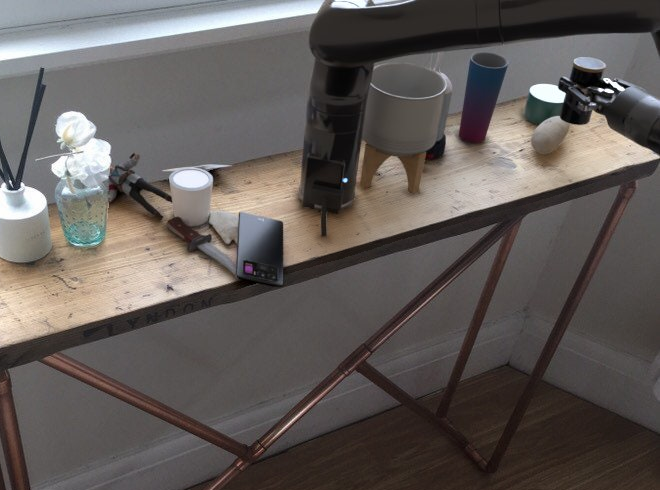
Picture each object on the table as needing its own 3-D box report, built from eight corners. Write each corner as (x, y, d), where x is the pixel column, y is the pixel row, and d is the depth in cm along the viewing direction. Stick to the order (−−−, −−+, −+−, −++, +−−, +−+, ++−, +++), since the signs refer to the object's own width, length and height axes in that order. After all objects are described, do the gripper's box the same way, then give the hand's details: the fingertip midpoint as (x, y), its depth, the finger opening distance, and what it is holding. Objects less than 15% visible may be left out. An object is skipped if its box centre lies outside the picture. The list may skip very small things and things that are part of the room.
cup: (446, 134, 168) (462, 57, 157) (469, 124, 171) (486, 48, 161) (474, 149, 164) (492, 71, 154) (497, 138, 168) (516, 62, 158)
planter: (386, 204, 149) (403, 105, 136) (339, 169, 156) (350, 72, 144) (442, 183, 155) (463, 87, 142) (394, 150, 162) (409, 56, 150)
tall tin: (591, 126, 155) (608, 70, 149) (560, 123, 155) (575, 67, 149) (587, 113, 159) (603, 58, 153) (557, 110, 159) (571, 55, 153)
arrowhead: (232, 239, 135) (193, 215, 141) (233, 250, 136) (194, 225, 142) (267, 225, 138) (227, 202, 144) (267, 235, 139) (227, 212, 145)
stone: (524, 143, 162) (539, 100, 167) (529, 169, 166) (544, 126, 172) (556, 142, 159) (570, 98, 164) (560, 169, 163) (574, 125, 169)
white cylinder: (205, 201, 146) (205, 164, 141) (218, 224, 141) (218, 186, 136) (164, 207, 143) (163, 169, 139) (176, 231, 139) (175, 192, 134)
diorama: (228, 161, 155) (229, 172, 156) (160, 168, 153) (161, 178, 154) (234, 166, 148) (235, 177, 148) (162, 173, 146) (163, 184, 147)
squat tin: (562, 129, 172) (570, 105, 169) (521, 122, 173) (528, 98, 170) (564, 111, 178) (571, 88, 174) (525, 104, 179) (531, 80, 176)
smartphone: (239, 208, 138) (238, 213, 139) (236, 276, 129) (234, 280, 130) (284, 218, 140) (282, 223, 141) (284, 285, 130) (282, 290, 131)
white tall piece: (422, 165, 159) (449, 26, 142) (390, 145, 163) (412, 9, 146) (453, 152, 163) (482, 16, 146) (421, 133, 167) (446, -1, 150)
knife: (259, 259, 133) (237, 274, 130) (259, 266, 134) (237, 281, 131) (176, 214, 140) (154, 227, 137) (176, 221, 141) (154, 234, 138)
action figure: (136, 224, 137) (74, 179, 143) (158, 237, 143) (98, 194, 149) (169, 174, 136) (106, 131, 142) (190, 190, 142) (129, 148, 148)
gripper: (682, 90, 144) (609, 53, 155) (618, 103, 139) (546, 64, 150) (667, 133, 149) (597, 94, 160) (604, 147, 144) (536, 106, 155)
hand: (573, 80), depth 155 cm, fingers closed on tall tin, 5 cm apart
